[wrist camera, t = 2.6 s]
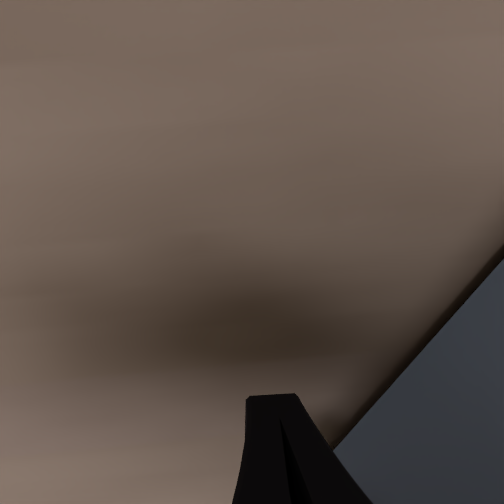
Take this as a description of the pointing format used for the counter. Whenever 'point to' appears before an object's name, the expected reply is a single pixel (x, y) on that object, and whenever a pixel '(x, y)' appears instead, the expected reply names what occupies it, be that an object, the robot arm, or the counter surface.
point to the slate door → (440, 416)
